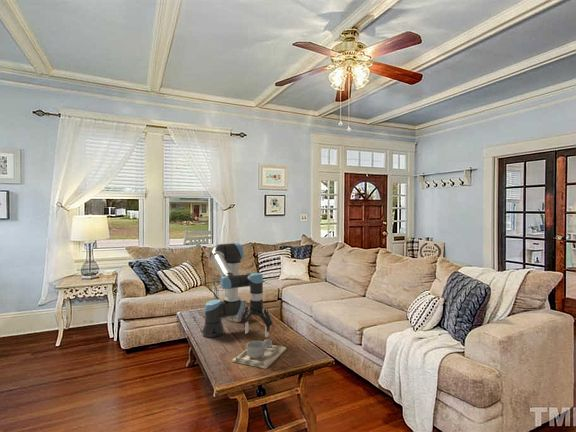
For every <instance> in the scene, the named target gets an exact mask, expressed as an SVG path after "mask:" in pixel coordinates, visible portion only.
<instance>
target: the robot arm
mask: <svg viewBox="0 0 576 432" xmlns="http://www.w3.org/2000/svg"><path fill="white" fill-rule="evenodd" d="M244 257H245V252H244V248H243V246H242V244H241V243H239V242H237V243H235V242H233V243H231V242H230V243H218V244H217V245H215V246H213V247H212V249H211V250H210V252H209V260H210V262H211V263H212V264H213V265H214V266H215V268H216V270H217V272H218V275H219V274H220V276H221V278H220V282H219V283H220V284H219V285H220V286H221V288H220V289H221V290H225V294H226V296H225V295H224V298H223V301H222V300H221V299H219V298H216V300H214V299H212V300H208V301H207V302H206V303H204V325H203V329H202V337H205V338H217V337H221V336H224V334H225V328H224V326H223V323H222V322H223V321H222V319H225V318H227V317H232V316H237V315H240V314H241V312H242V308H243V305H242V300H241V299H242V298H241V296H239V288H246V287H247V288H248V287H249V295H250V296H249V297H250V301H249V305H247V307H246V309H245V312H244V314H243V316H242V319H241V321H240V322H243V328H244V331H245V332H244V334H246V335H247V334H248V333H249V320H250V319H251V318H252V316H257V317H260V319H261V320H262V322H263V323H264V324H265V326H264V337H265V338H268V336H269V331H270V330H271V329H270V328H271V327H272V325H273V324H274V323H273V320H272V318H271V317H270V313H269V310H268V308H263V307H264V306H263V305H264V301H263V299H264V298H263V297H264V295H263V294H264V293H263V292H264V289H263V287H264V285H263V283H264V279H263V273H260V272H252V273H251V272H245V273H244V274H239V265H240V263H241V262H242V261H241V260H242V259H244ZM240 298H241V299H240ZM249 311H250V312H249ZM248 313H249V314H248ZM246 315H247V318H246ZM245 318H246V319H245Z"/></svg>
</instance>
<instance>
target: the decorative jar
mask: <svg viewBox="0 0 576 432" xmlns="http://www.w3.org/2000/svg"><path fill="white" fill-rule="evenodd" d="M240 299H241V300H242V305H243V308H242V312H241V314H240V315H237V316H232V317H226V320H227V321H229V322H235V323H240V322H242V321H241V319H242V316H243V314H244V312H245V309H246V307H247V306H248V303H247V301H246V300H245V299H244V298H241V297H240ZM247 316H248V314H247V315H246V318H247ZM246 318H245V319H246Z"/></svg>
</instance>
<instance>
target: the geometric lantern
mask: <svg viewBox="0 0 576 432" xmlns="http://www.w3.org/2000/svg"><path fill="white" fill-rule="evenodd" d="M220 279H221V276H220V274H219V273H218V275H216V276H214V277H213V278H211V280H212V284H213V286H214V292H213V293H214V294H213V300H217V298H218V292H220V291H221V292H222V291H224V289H222V288H221V285H220ZM216 283H217V285H216ZM219 285H220V286H219ZM218 286H219V287H218ZM219 289H220V290H219ZM225 296H226V293H225V295H224V297H225Z"/></svg>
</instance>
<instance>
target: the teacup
mask: <svg viewBox="0 0 576 432" xmlns="http://www.w3.org/2000/svg"><path fill="white" fill-rule="evenodd" d="M265 343H266V346H264V344H265ZM245 347H246V349H247V354H248V356H249V357H250V358H252V359H259V358H261V357H262V356H263V355H264V352H265V349H266V348H267V347H268V342H267V341H264V340H263V341H262V340H252V341H249V342H247V343H246V346H245Z"/></svg>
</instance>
